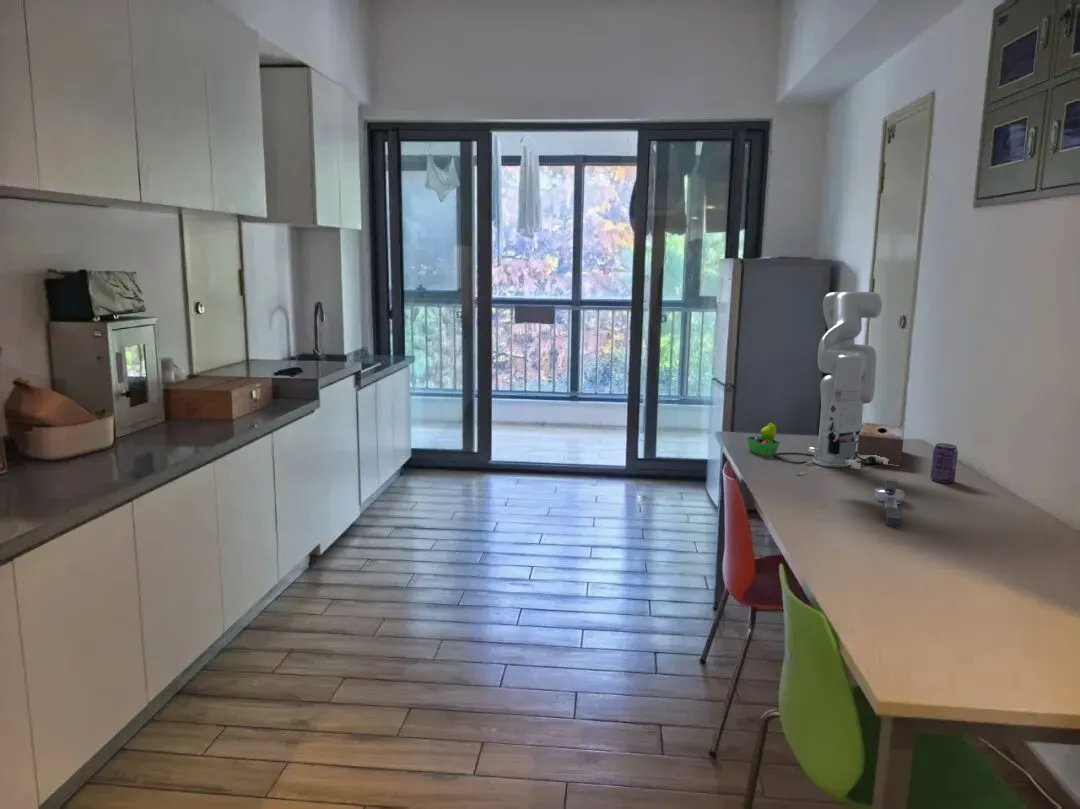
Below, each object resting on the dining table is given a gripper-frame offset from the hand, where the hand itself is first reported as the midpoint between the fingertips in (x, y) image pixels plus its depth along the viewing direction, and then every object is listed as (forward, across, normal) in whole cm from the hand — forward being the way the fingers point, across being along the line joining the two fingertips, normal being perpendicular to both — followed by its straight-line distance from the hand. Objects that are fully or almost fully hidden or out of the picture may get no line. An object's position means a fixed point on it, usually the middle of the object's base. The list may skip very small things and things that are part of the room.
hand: (840, 451), depth 237 cm
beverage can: (+14, +41, -4) cm, 44 cm away
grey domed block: (+1, 0, 0) cm, 1 cm away
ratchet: (+12, -1, -21) cm, 25 cm away
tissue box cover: (+15, +48, +28) cm, 58 cm away
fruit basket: (+14, +10, +46) cm, 50 cm away
